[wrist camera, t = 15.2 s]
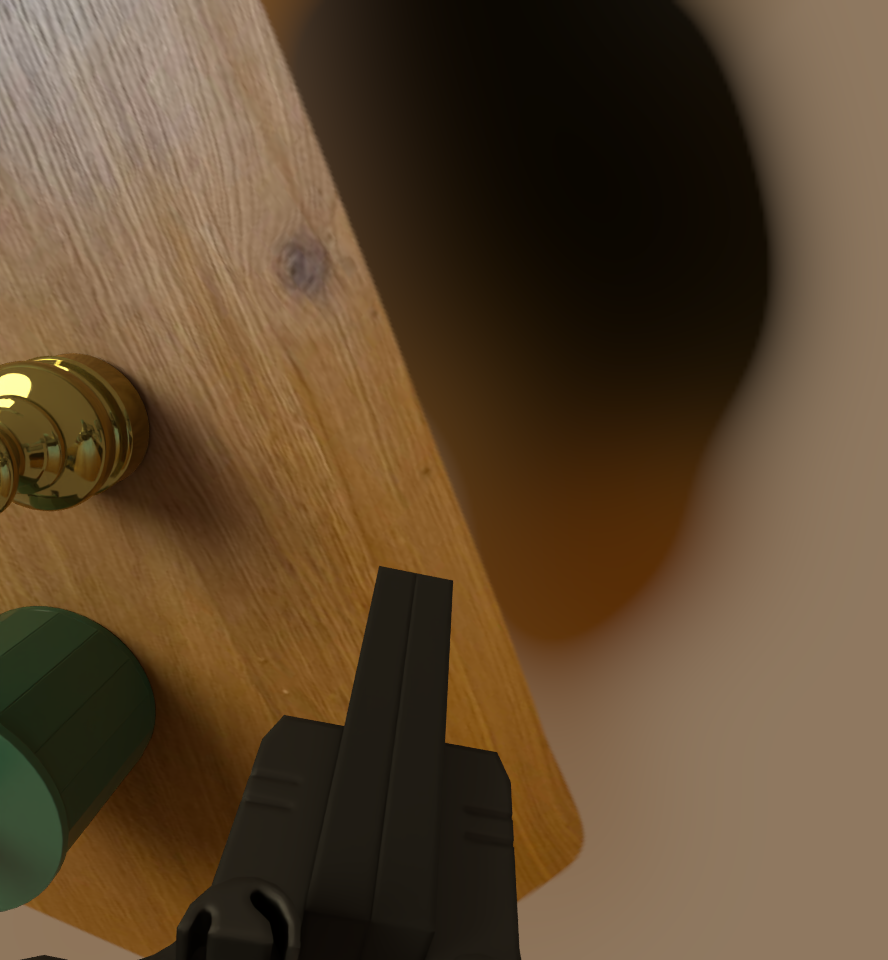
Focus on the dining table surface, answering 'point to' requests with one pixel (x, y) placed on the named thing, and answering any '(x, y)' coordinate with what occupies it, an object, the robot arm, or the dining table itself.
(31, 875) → the pot lid
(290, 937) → the robot arm
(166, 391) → the dining table surface
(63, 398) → the brass calibration weight
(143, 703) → the pot
